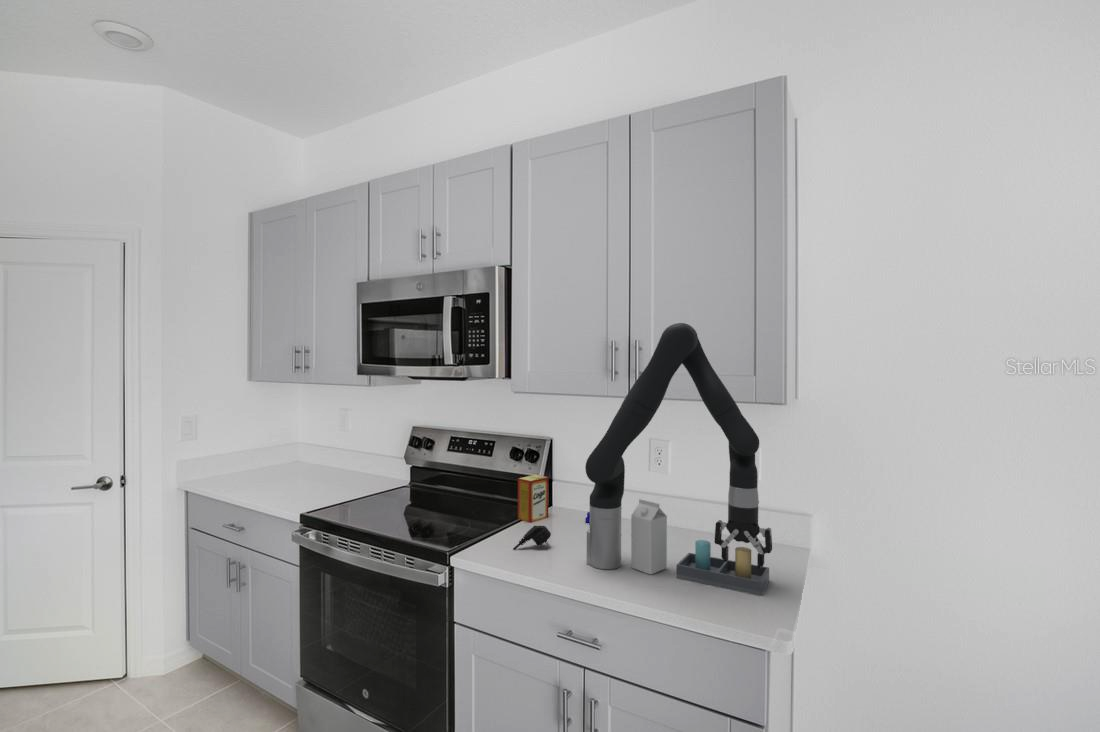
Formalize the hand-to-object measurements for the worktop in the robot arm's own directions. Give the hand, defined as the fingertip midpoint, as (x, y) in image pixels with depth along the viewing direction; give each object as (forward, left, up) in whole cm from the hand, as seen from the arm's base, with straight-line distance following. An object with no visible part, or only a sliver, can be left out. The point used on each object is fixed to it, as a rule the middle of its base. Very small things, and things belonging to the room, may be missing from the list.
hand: (742, 564), depth 144 cm
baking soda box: (-79, +20, -5) cm, 82 cm away
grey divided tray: (-5, 0, -5) cm, 7 cm away
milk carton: (-25, -3, -5) cm, 26 cm away
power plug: (-65, -10, -7) cm, 66 cm away
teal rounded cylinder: (-10, 0, -4) cm, 11 cm away
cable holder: (-56, +27, -6) cm, 63 cm away
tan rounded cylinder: (0, 0, -4) cm, 4 cm away
